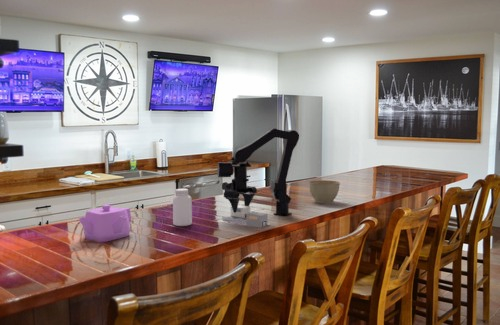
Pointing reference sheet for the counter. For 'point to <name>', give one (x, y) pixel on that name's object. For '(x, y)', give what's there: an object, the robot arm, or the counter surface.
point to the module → (241, 211)
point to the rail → (238, 221)
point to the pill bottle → (182, 208)
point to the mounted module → (257, 218)
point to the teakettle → (106, 223)
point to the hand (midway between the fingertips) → (240, 210)
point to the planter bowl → (324, 190)
